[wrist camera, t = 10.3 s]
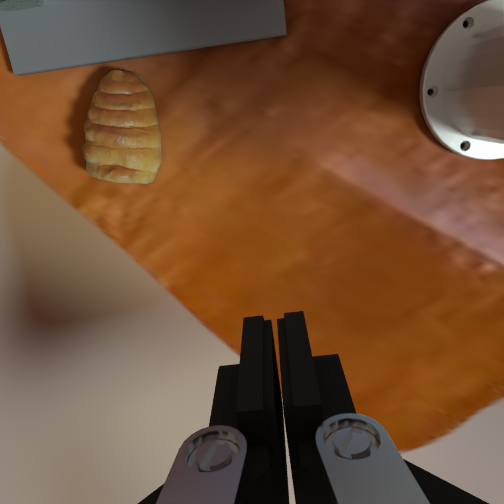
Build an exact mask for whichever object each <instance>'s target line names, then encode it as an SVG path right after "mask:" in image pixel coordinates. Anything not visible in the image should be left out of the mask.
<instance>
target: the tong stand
mask: <svg viewBox="0 0 504 504" xmlns="http://www.w3.org/2000/svg"><path fill="white" fill-rule="evenodd" d="M41 6H44V3H43V0H0V9H2V10H5V11H8V12H10V11H17V10H23V9H29V8H35V7H41Z"/></svg>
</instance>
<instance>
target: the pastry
mask: <svg viewBox="0 0 504 504" xmlns="http://www.w3.org/2000/svg"><path fill="white" fill-rule="evenodd" d="M84 132H85V140H86V142H85V143H84V145H83V146H82V154H83V156H84V157H85V159H86V163H87V164H86V170H87V171H88V173H89V174H90V175H91V176H93V177H96V178H98V179H104V180H107V181H113V182H117V183H124V182H128V183H142V184H148V183H150V182H152V181H153V180H154V178H155V176H156V173H157V170H158V168H159V166H160V164H161V161H162V146H161V132H160V127H159V122H158V118H157V113H156V108H155V103H154V99H153V95H152V93H151V91H150V89H149V88H148V86H147V84H146V82H145V81H144V80H143V79H142V77H141V76H140V75H138V74H136V73H132V72H127V71H121V70H112V71H110V72H109V73H108V74H107V75H106V76H104V77H103V78H102V79H101V81H100V84H99V86H98V89H97V91H95V93H94V94H93V95H92V102H91V106H90V107H89V109H88V112H87V120H86V122H85V123H84Z"/></svg>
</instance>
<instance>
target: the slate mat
mask: <svg viewBox="0 0 504 504" xmlns="http://www.w3.org/2000/svg"><path fill="white" fill-rule="evenodd" d="M43 3H44V6H41V7H35V8H29V9H23V10H17V11H10V12H8V11H5V10H2V9H0V27H1V31H2V34H3V37H4V41H5V44H6V48H7V51H8V55H9V58H10V62H11V65H12V69H13V72H14V75H20V76H21V75H27V74H34V73H41V72H47V71H54V70H60V69H67V68H74V67H80V66H87V65H94V64H100V63H107V62H113V61H120V60H127V59H133V58H140V57H147V56H153V55H160V54H166V53H173V52H180V51H186V50H193V49H200V48H206V47H213V46H219V45H226V44H233V43H239V42H246V41H253V40H259V39H266V38H272V37H279V36H286V34H287V31H286V20H285V10H284V0H43Z"/></svg>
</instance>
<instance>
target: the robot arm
mask: <svg viewBox="0 0 504 504" xmlns="http://www.w3.org/2000/svg"><path fill="white" fill-rule="evenodd" d="M463 22H465V23H466V27H465V28H464V27H463ZM429 89H431V91H432V93H431V94H430V95H428V93H427V92H428V90H429ZM419 98H420V104H421V111H422V114H423V117H424V120H425V122H426V125H427V126H428V128H429V130H430V131H431V133H432V135H433V136H434V137H435V138H436V139H437V140H438V141H439V142H440V143H441V144H442V145H443V146H444V147H446V148H447V149H449V150H451V151H452V152H454V153H457V154H459V155H462V156H464V157H468V158H473V159H479V160H495V159H502V158H504V0H488V1H485V2H483V3H481V4H479V5H476V6H475V7H473V8H471V9H469V10H468V11H466V12H464V13H463V14H461V15H460V16H459V17H458V18H456V19H455V20H454V21H453V22H452V23H450V24H449V25H448V26H447V28H446V29H445V30H444V31H443V32H442V33H441V35H440V36H439V37H438V38H437V40H436V42H435V43H434V45H433V47H432V48H431V50H430V51H429V54H428V56H427V59H426V61H425V64H424V66H423V70H422V75H421V80H420V95H419ZM462 142H463V147H462V148H460V145H461V143H462ZM277 326H278V341H279V355H280V370H281V384H282V397H281V390H280V382H279V375H278V367H277V360H276V352H275V345H274V337H273V330H272V322H271V320H264V318H263V316H254V317H245V318H244V320H243V332H242V343H241V354H240V364H236V365H226V366H220V367H219V369H218V375H217V381H216V387H215V393H214V399H213V405H212V411H211V417H210V423H209V427H207V428H204V429H201V430H199V431H197V432H195V433H193V434H192V435H191V436H190V437H188V438H187V439H186V440H185V441H184V442H183V444H182V446H181V447H180V449H179V451H178V454H177V456H176V458H175V460H174V463H173V465H172V468H171V470H170V472H169V474H168V477H167V479H166V481H165V483H164V484H163V485H162V486H160V487H159V488H158V489H157V490H155V491H154V492H153V493H151V494H150V495H149V496H147V497H146V498H145V499H143V500H142V501H141V502H139V503H138V504H289V492H288V477H287V463H286V449H285V448H286V447H285V433H284V418H285V426H286V434H287V441H288V448H289V456H290V463H291V471H292V479H293V486H294V494H295V501H296V504H489V503H487V502H485V501H483V500H481V499H479V498H477V497H475V496H473V495H471V494H470V493H468V492H466V491H464V490H461V489H460V488H458V487H456V486H454V485H452V484H450V483H448V482H447V481H445V480H442V479H441V478H439V477H437V476H435V475H433V474H431V473H429V472H427V471H425V470H423V469H422V468H420V467H418V466H416V465H414V464H412V463H410V462H408V461H406V460H404V459H403V458H402V456H401V455H400V453H399V452H398V450H397V448H396V447H395V445H394V443H393V442H392V440H391V438H390V437H389V435H388V433H387V432H386V430H385V429H384V428H383V427H382V426H381V424H380V423H378V422H377V421H375V420H374V419H372V418H370V417H367V416H364V415H361V414H356V411H355V408H354V405H353V401H352V398H351V395H350V391H349V388H348V385H347V382H346V378H345V375H344V372H343V369H342V365H341V362H340V359H339V356H338V354H333V355H323V356H313V357H312V353H311V348H310V343H309V338H308V333H307V328H306V323H305V318H304V313H303V311H299V312H290V313H284V318H282V319H277ZM282 399H283V406H282ZM283 410H284V418H283Z"/></svg>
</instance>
